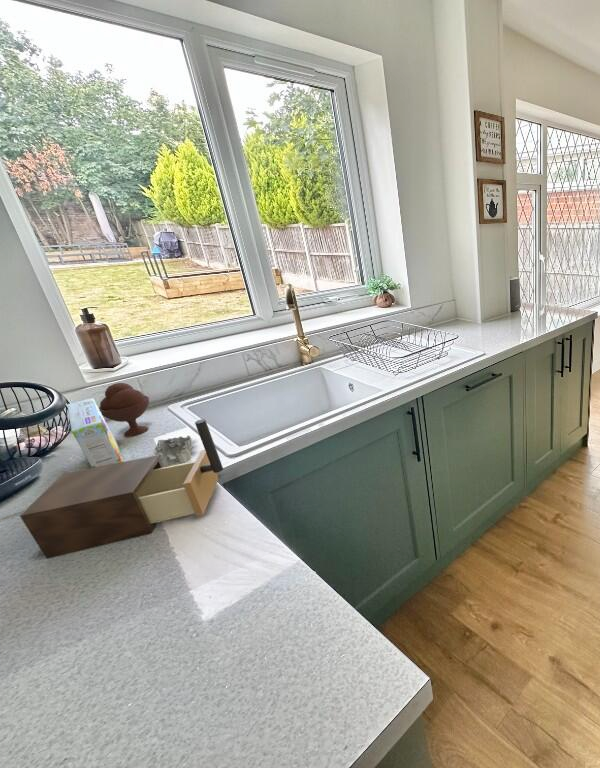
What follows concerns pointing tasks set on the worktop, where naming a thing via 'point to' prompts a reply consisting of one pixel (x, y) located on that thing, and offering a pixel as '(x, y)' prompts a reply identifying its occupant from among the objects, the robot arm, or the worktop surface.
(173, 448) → the grey rock
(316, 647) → the worktop surface
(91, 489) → the storage box
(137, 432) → the ice cream bowl
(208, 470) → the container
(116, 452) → the snack box
